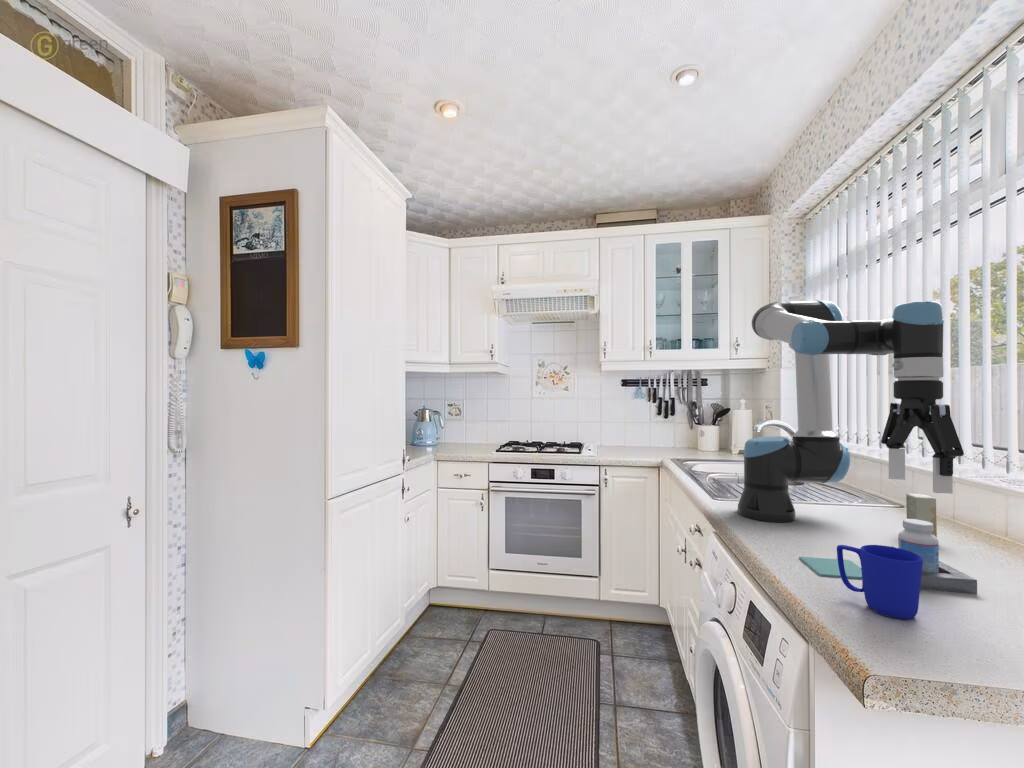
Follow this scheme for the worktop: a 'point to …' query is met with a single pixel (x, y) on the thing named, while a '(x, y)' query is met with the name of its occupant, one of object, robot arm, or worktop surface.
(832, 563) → the mat
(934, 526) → the box
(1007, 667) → the worktop surface
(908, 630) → the worktop surface
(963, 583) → the grey square frame
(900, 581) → the mug
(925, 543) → the pill bottle
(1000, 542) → the worktop surface
